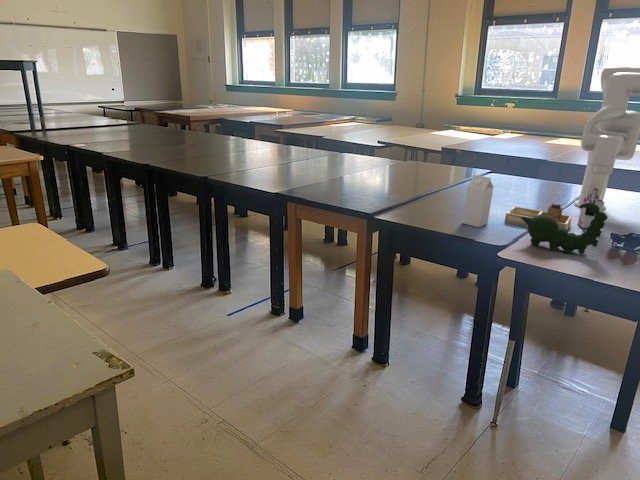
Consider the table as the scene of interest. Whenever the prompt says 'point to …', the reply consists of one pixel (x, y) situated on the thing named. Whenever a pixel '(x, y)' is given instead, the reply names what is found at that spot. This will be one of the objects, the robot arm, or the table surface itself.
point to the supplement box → (585, 219)
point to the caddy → (553, 211)
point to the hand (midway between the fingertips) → (590, 212)
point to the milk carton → (478, 201)
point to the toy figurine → (565, 231)
